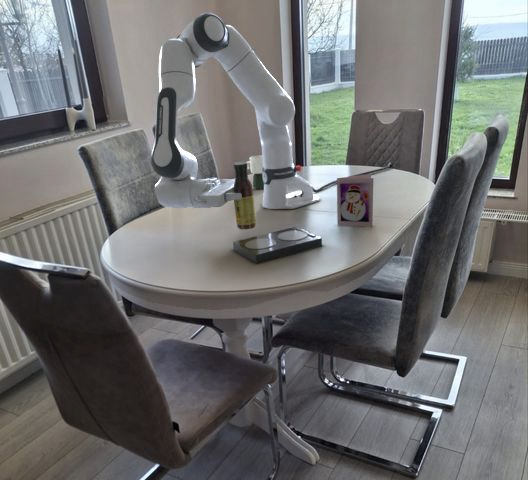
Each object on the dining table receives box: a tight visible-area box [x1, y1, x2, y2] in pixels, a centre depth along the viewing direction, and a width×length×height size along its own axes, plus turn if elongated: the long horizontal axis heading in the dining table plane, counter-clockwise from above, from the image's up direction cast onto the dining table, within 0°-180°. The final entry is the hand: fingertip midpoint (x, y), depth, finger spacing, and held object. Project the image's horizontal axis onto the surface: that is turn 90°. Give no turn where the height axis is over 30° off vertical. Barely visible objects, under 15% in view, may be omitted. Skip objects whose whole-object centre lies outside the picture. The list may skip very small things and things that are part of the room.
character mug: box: [245, 154, 264, 189], centre depth 220 cm, size 11×7×13 cm, turn 71°
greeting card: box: [336, 173, 374, 227], centre depth 163 cm, size 11×7×15 cm, turn 68°
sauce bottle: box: [233, 161, 257, 230], centre depth 158 cm, size 6×6×20 cm
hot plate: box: [232, 226, 323, 264], centre depth 151 cm, size 22×15×3 cm
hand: (245, 192), depth 157 cm, fingers closed on sauce bottle, 6 cm apart
